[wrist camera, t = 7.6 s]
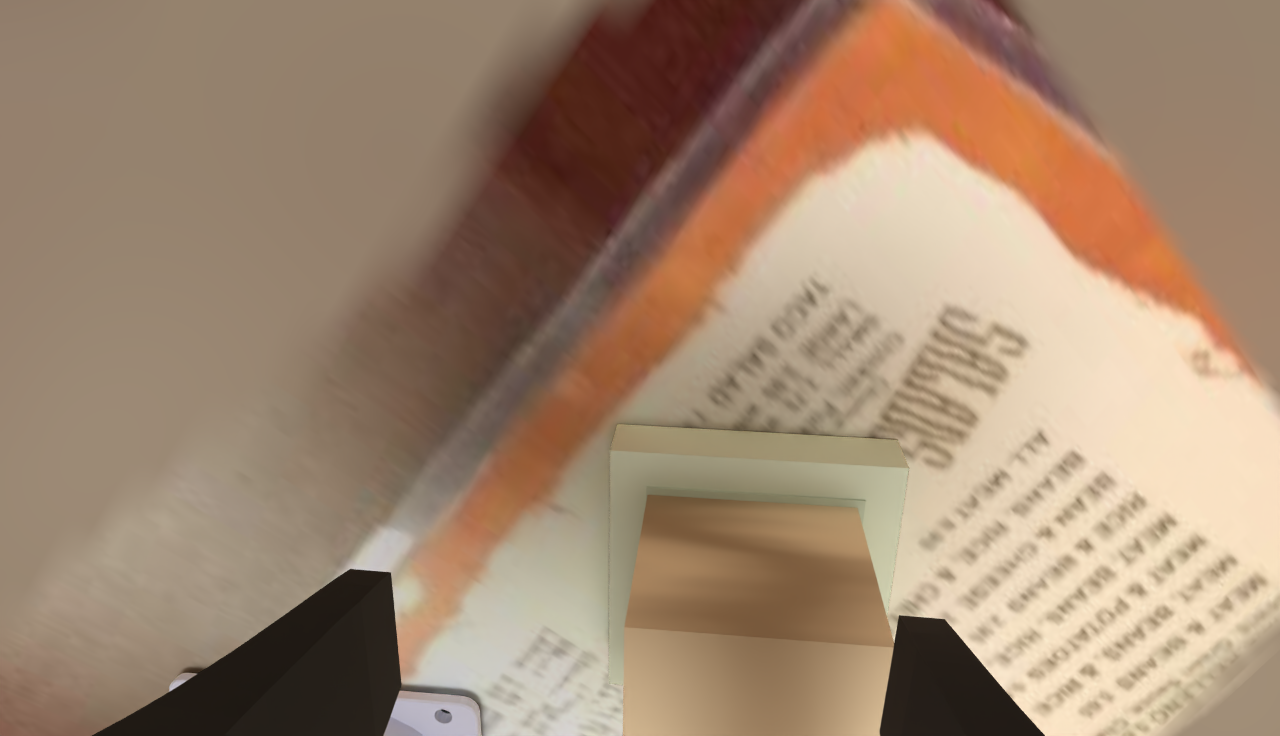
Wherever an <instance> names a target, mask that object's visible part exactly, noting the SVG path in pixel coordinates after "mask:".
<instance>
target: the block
mask: <svg viewBox="0 0 1280 736" xmlns="http://www.w3.org/2000/svg"><path fill="white" fill-rule="evenodd" d="M893 649H894V641H893V638H892V634H891V630H890V627H889V623H888V619H887V615H886V612H885V608H884V604H883V601H882V597H881V593H880V589H879V586H878V582H877V578H876V574H875V571H874V567H873V563H872V560H871V556H870V552H869V548H868V545H867V541H866V537H865V533H864V530H863V526H862V522H861V519H860V515H859V511H858V508H853V507H837V506H821V505H805V504H789V503H773V502H757V501H741V500H725V499H709V498H693V497H677V496H661V495H647V500H646V506H645V512H644V517H643V523H642V529H641V534H640V540H639V546H638V552H637V557H636V563H635V569H634V574H633V580H632V586H631V591H630V597H629V603H628V608H627V614H626V620H625V626H624V688H623V736H880V725H881V719H882V713H883V707H884V702H885V696H886V690H887V684H888V678H889V672H890V666H891V660H892V655H893Z"/></svg>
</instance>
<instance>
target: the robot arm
mask: <svg viewBox="0 0 1280 736" xmlns="http://www.w3.org/2000/svg"><path fill="white" fill-rule="evenodd" d="M400 688H401V676H400V665H399V654H398V644H397V633H396V622H395V611H394V600H393V590H392V579H391V573H390V572H378V571H366V570H354V569H350V570H348V571H347V572H345V573H344V574H342V575H341V576H339V577H337V578H336V579H335V580H333V581H332V582H330V583H329V584H327V585H326V586H325V587H323V588H322V589H320V590H319V591H317V592H316V593H315V594H313V595H312V596H310V597H309V598H308V599H306V600H305V601H304V602H302V603H301V604H299V605H298V606H297V607H295V608H294V609H292V610H291V611H290V612H288V613H287V614H285V615H284V616H283V617H281V618H280V619H278V620H277V621H275V622H274V623H273V624H271V625H270V626H268V627H267V628H265V629H264V630H263V631H261V632H260V633H258V634H257V635H255V636H254V637H253V638H251V639H250V640H248V641H247V642H245V643H244V644H243V645H241V646H240V647H238V648H237V649H235V650H234V651H232V652H231V653H229V654H228V655H226V656H225V657H223V658H221V659H220V660H218V661H217V662H215V663H214V664H212V665H211V666H209V667H207V668H206V669H204V670H203V671H201V672H200V673H198V674H196V673H182V674H180V675H178V676H177V677H176V678H175V679H174V680H173V682H172V683H171V685H170V686H169V692H168V693H167V694H165V695H164V696H162V697H160V698H158V699H157V700H155V701H153V702H152V703H150V704H148V705H147V706H145V707H143V708H141V709H140V710H138V711H136V712H134V713H133V714H131V715H129V716H127V717H126V718H124V719H122V720H120V721H118V722H116V723H115V724H113V725H111V726H109V727H107V728H105V729H103V730H102V731H100V732H98V733H96V734H94V735H92V736H482V735H481V720H480V709H479V706H478V704H477V703H476V702H475V701H474V700H472V699H471V698H469V697H465V696H458V695H446V694H434V693H422V692H410V691H400ZM441 709H444V710H447V711H448V712H450V714H447V713H444V712H443V711H441ZM880 736H1045V735H1044V734H1043V733H1042V732H1041V731H1040V730H1039V729H1038V728H1037V726H1036V725H1035V724H1034V723H1033V722H1032V721H1031V720H1030V719H1029V718H1028V716H1027V715H1026V714H1025V713H1024V712H1023V711H1022V710H1021V709H1020V708H1019V706H1018V705H1017V704H1016V703H1015V702H1014V701H1013V700H1012V698H1011V697H1010V696H1009V695H1008V694H1007V693H1006V692H1005V690H1004V689H1003V688H1002V687H1001V686H1000V684H999V683H998V682H997V681H996V680H995V679H994V677H993V676H992V675H991V674H990V673H989V672H988V670H987V669H986V668H985V667H984V666H983V664H982V663H981V662H980V661H979V660H978V658H977V657H976V656H975V655H974V654H973V652H972V651H971V650H970V649H969V648H968V646H967V645H966V644H965V643H964V642H963V640H962V639H961V638H960V637H959V636H958V634H957V633H956V632H955V631H954V630H953V629H952V627H951V626H950V625H949V624H948V623H947V622H946V620H945V619H935V618H923V617H912V616H900V615H899V619H898V625H897V631H896V637H895V643H894V649H893V655H892V660H891V666H890V672H889V678H888V684H887V690H886V696H885V702H884V707H883V713H882V719H881V725H880Z"/></svg>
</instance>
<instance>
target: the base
mask: <svg viewBox="0 0 1280 736" xmlns="http://www.w3.org/2000/svg"><path fill="white" fill-rule="evenodd" d="M908 473H909V467H908V464H907V462H906V459H905V457H904V454H903V452H902V450H901V447H900V445H899V442H898V440H892V439H875V438H857V437H839V436H822V435H804V434H786V433H769V432H751V431H733V430H716V429H698V428H680V427H662V426H645V425H627V424H617V427H616V431H615V434H614V438H613V441H612V445H611V448H610V527H609V684H615V685H624V626H625V620H626V614H627V608H628V603H629V597H630V591H631V586H632V580H633V574H634V569H635V563H636V557H637V552H638V546H639V540H640V534H641V529H642V523H643V517H644V512H645V506H646V500H647V495H661V496H677V497H693V498H709V499H725V500H741V501H757V502H773V503H789V504H805V505H821V506H837V507H853V508H858V511H859V515H860V519H861V522H862V526H863V530H864V533H865V537H866V541H867V545H868V548H869V552H870V556H871V560H872V563H873V567H874V571H875V574H876V578H877V582H878V586H879V589H880V593H881V597H882V601H883V604H884V608H885V612H886V615H888V608H889V601H890V595H891V588H892V581H893V574H894V568H895V561H896V554H897V547H898V540H899V534H900V527H901V520H902V513H903V507H904V500H905V493H906V486H907V480H908Z"/></svg>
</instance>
